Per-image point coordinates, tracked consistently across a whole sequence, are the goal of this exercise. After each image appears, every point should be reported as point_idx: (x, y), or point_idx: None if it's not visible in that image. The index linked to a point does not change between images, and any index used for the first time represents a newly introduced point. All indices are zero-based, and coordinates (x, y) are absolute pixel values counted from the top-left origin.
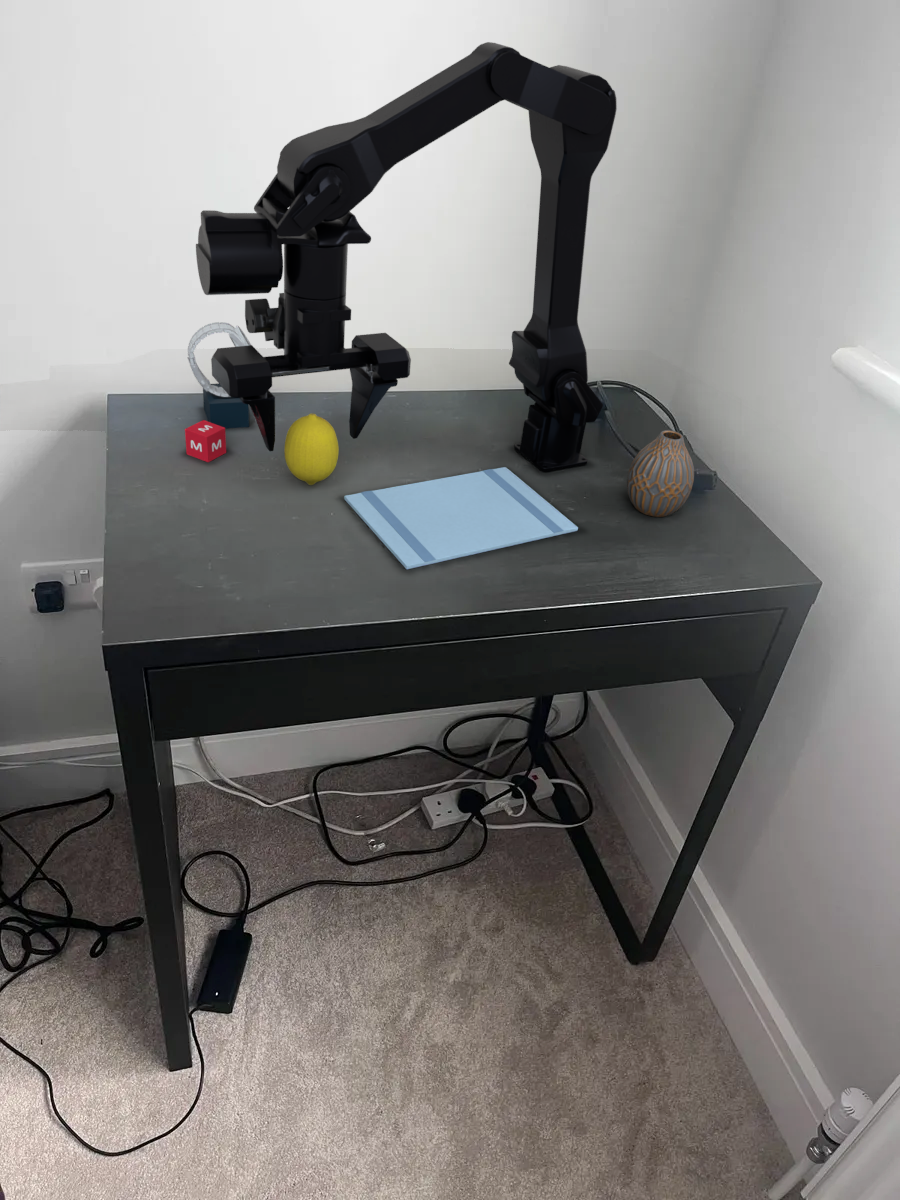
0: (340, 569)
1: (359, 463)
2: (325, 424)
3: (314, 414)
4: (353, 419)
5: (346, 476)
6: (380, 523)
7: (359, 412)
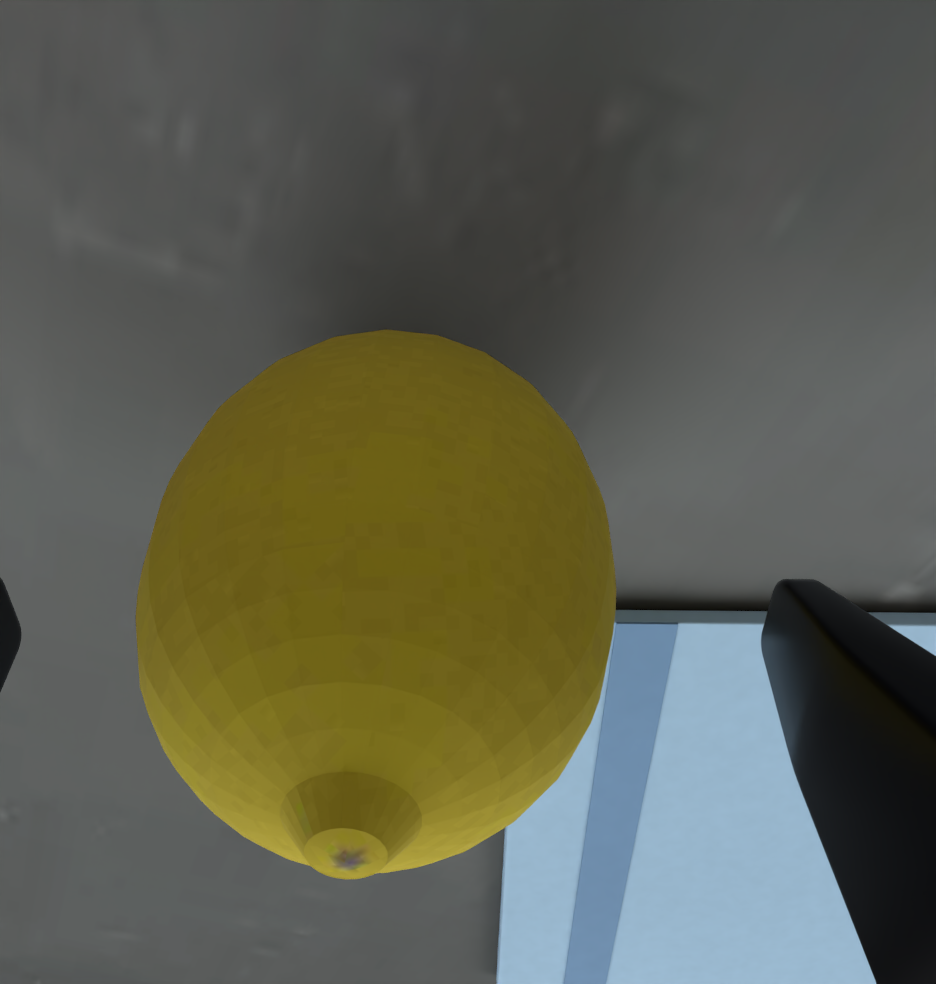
0: (294, 931)
1: (858, 267)
2: (473, 840)
3: (375, 857)
4: (844, 763)
5: (665, 402)
6: (551, 826)
7: (894, 943)
